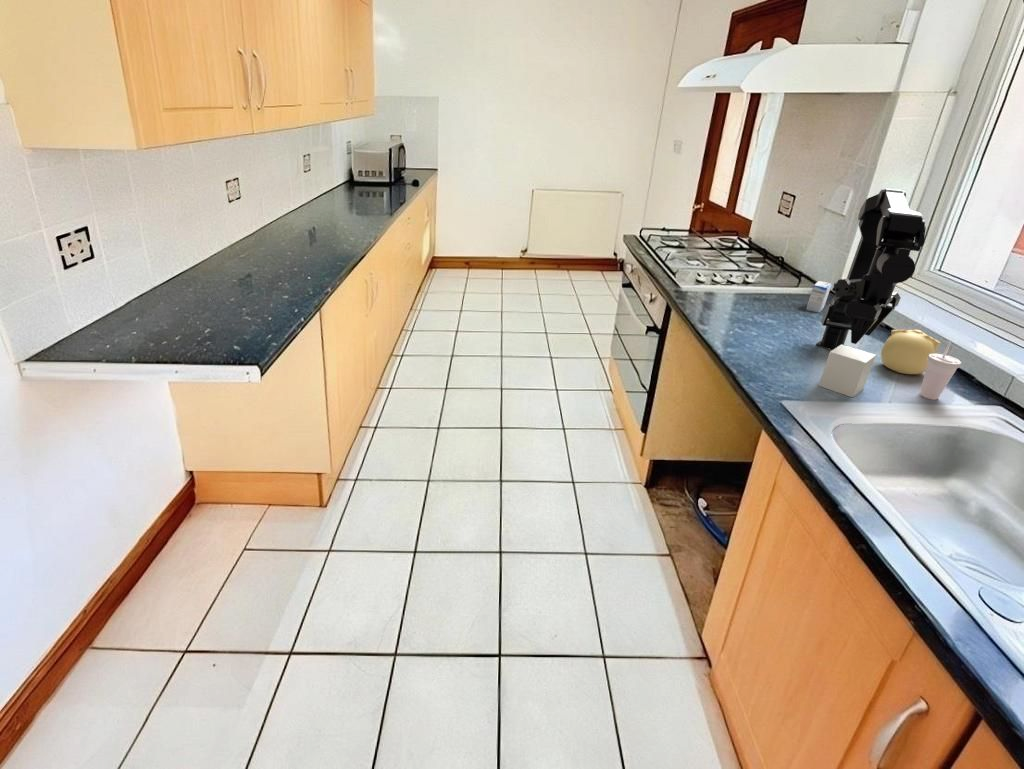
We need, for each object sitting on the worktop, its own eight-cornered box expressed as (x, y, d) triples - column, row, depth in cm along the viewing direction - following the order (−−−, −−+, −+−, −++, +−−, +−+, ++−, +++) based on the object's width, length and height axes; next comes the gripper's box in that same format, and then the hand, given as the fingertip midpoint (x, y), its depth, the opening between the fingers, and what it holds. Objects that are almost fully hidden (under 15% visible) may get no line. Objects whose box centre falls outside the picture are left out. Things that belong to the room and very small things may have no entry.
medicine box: (810, 304, 198) (817, 280, 194) (824, 307, 196) (832, 283, 192) (805, 309, 192) (813, 284, 188) (819, 313, 190) (828, 287, 186)
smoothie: (932, 390, 138) (955, 336, 132) (951, 402, 133) (976, 347, 126) (906, 389, 138) (929, 335, 132) (925, 401, 132) (949, 345, 126)
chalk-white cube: (863, 388, 137) (876, 354, 133) (852, 397, 132) (865, 362, 128) (830, 377, 141) (841, 344, 138) (818, 385, 137) (830, 351, 133)
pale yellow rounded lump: (931, 371, 150) (948, 332, 145) (921, 383, 142) (938, 343, 137) (883, 357, 157) (897, 319, 152) (870, 368, 149) (885, 329, 144)
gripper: (858, 258, 135) (837, 321, 142) (830, 269, 123) (808, 336, 130) (911, 269, 128) (887, 334, 135) (887, 281, 116) (861, 352, 123)
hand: (860, 339), depth 131 cm, fingers open, 9 cm apart
